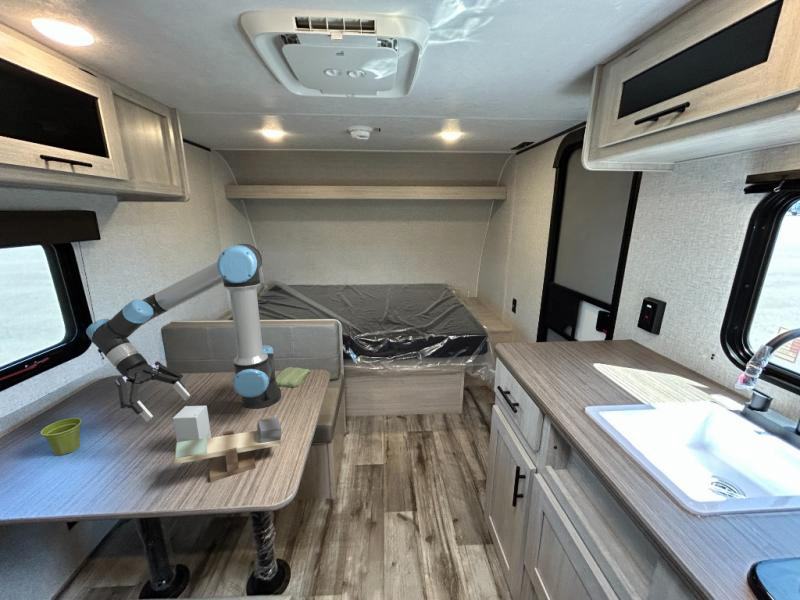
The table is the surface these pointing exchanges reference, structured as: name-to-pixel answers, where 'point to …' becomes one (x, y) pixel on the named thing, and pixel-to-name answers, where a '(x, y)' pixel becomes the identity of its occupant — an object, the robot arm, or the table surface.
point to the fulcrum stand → (230, 462)
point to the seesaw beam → (230, 442)
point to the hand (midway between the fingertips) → (170, 408)
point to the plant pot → (63, 435)
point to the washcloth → (291, 377)
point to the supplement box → (192, 423)
